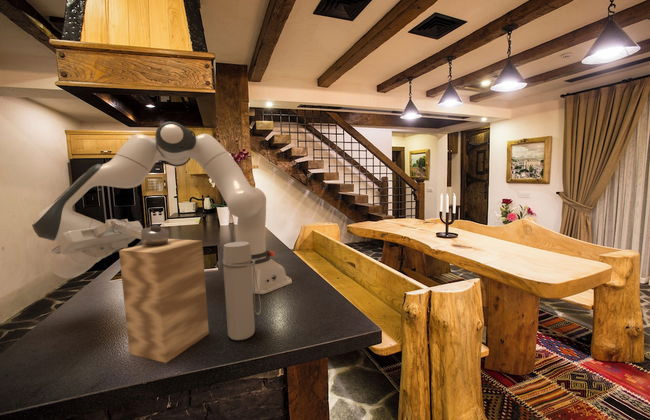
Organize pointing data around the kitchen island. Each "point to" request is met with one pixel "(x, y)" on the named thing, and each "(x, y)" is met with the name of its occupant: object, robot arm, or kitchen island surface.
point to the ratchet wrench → (143, 233)
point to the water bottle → (239, 290)
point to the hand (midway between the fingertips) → (119, 222)
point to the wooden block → (164, 298)
